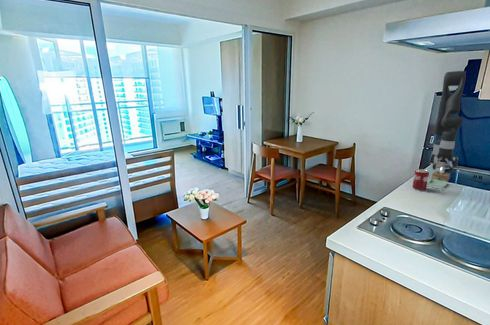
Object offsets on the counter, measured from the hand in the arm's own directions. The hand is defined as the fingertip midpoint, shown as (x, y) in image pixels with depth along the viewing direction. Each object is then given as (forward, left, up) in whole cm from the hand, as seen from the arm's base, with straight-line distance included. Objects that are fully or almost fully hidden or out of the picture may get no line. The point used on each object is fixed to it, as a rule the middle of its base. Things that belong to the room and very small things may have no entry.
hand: (442, 170), depth 171 cm
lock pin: (0, 0, -6) cm, 6 cm away
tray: (+13, +1, -7) cm, 15 cm away
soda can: (+26, -5, -7) cm, 27 cm away
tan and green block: (+1, 0, -7) cm, 7 cm away
